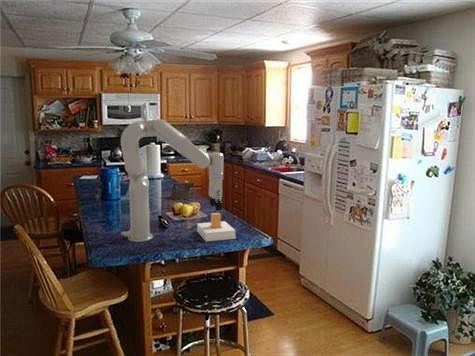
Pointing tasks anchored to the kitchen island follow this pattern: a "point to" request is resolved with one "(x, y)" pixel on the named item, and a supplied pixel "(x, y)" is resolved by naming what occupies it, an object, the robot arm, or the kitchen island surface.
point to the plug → (215, 220)
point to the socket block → (215, 231)
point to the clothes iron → (181, 191)
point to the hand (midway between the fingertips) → (215, 207)
